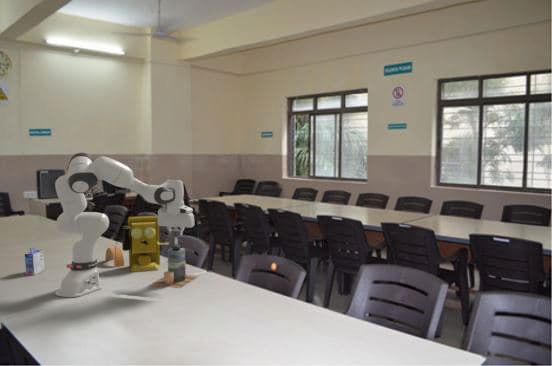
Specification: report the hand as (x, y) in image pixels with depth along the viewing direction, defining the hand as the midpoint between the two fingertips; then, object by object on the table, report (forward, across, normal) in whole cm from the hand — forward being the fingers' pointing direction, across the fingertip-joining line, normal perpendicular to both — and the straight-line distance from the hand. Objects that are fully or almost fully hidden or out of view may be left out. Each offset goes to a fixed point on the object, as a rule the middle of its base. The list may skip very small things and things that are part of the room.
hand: (176, 234), depth 240 cm
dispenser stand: (+25, 0, -2) cm, 26 cm away
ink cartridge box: (+26, -87, -6) cm, 91 cm away
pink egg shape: (+24, 0, -8) cm, 25 cm away
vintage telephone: (+26, -33, +19) cm, 46 cm away
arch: (+26, -56, +25) cm, 67 cm away
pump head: (+6, 0, -3) cm, 6 cm away
